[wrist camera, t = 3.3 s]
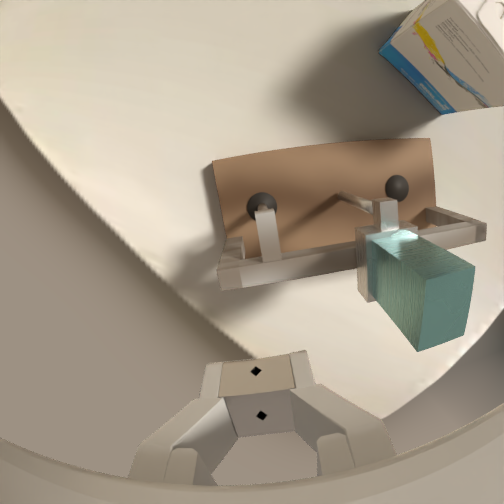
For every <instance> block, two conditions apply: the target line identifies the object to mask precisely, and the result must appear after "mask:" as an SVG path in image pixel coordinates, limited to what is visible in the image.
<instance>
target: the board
mask: <svg viewBox="0 0 504 504" xmlns="http://www.w3.org/2000/svg"><path fill="white" fill-rule="evenodd" d="M212 164H213V169H214V175H215V180H216V185H217V191H218V196H219V201H220V206H221V211H222V217H223V222H224V227H225V232H226V237H227V240H226V243H225V246H224V249H223V252H222V255H221V258H220V262H219V265H218V268H217V275H218V279H219V284H220V288H221V291H225V290H232V289H238V288H245V287H251V286H257V285H264V284H270V283H276V282H282V281H288V280H294V279H300V278H305V277H311V276H317V275H322V274H328V273H333V272H339V271H344V270H350V269H355V268H357V258H356V241H355V227H361V226H368V225H374V222H373V215H372V214H370V213H367V212H365V211H363V210H361V209H359V208H357V207H354V206H352V205H350V204H348V203H345V202H343V201H341V200H339V199H338V193H339V192H341V191H343V192H346V193H349V194H352V195H355V196H358V197H361V198H364V199H367V200H370V201H372V199H380V198H387V197H389V198H392V199H396V200H397V204H398V221H400V220H404V221H407V222H409V223H411V224H414V225H416V226H418V236H420V237H422V238H424V239H426V240H428V241H430V242H432V243H434V244H435V245H437V246H439V247H441V248H443V249H445V250H447V249H451V248H456V247H460V246H464V245H469V244H473V243H477V242H481V241H485V240H486V229H487V223H484V222H481V221H479V220H476V219H473V218H470V217H467V216H464V215H461V214H458V213H455V212H452V211H449V210H446V209H443V208H440V207H436V196H435V180H434V168H433V158H432V149H431V141H430V138H408V139H381V140H364V141H351V142H339V143H328V144H319V145H310V146H302V147H294V148H286V149H279V150H272V151H266V152H259V153H253V154H247V155H242V156H236V157H230V158H225V159H220V160H215V161H212ZM436 226H438V227H436Z"/></svg>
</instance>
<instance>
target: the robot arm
mask: <svg viewBox="0 0 504 504" xmlns="http://www.w3.org/2000/svg"><path fill="white" fill-rule="evenodd" d="M291 431H295V432H296V433H297V434H298V435H299V436H300V437H301V438H302V439H303V440H304V441H305V442H306V443H307V444H308V445H309V446H310V447H311V448H312V449H313V450H315V451H316V452H317V476H316V477H311V478H305V479H299V480H292V481H284V482H276V483H265V484H253V485H229V486H227V485H226V486H218V485H217V483H216V482H215V481H214V479H213V477H212V475H211V474H212V473H213V471H214V470H215V469H216V468H217V466H218V465H219V464H220V462H221V461H222V460H223V458H224V457H225V456H226V454H227V453H228V451H229V450H230V449H231V448H232V446H233V445H234V444H235V442H236V441H237V440H238V438H237V437H247V436H256V435H264V434H273V433H282V432H291ZM0 504H504V403H503V404H501V405H500V406H498V407H497V408H495V409H493V410H492V411H490V412H488V413H487V414H485V415H483V416H482V417H480V418H478V419H476V420H475V421H473V422H471V423H469V424H467V425H465V426H463V427H461V428H460V429H457V430H455V431H454V432H451V433H449V434H447V435H445V436H443V437H441V438H438V439H436V440H434V441H432V442H429V443H427V444H425V445H423V446H420V447H417V448H415V449H412V450H410V451H407V452H404V453H401V454H399V455H397V453H396V451H395V449H394V446H393V444H392V442H391V439H390V437H389V435H388V432H387V430H386V428H385V425H384V423H383V421H382V420H381V419H379V418H378V417H376V416H374V415H372V414H371V413H369V412H367V411H365V410H364V409H362V408H360V407H358V406H357V405H355V404H353V403H352V402H350V401H348V400H347V399H345V398H343V397H342V396H340V395H338V394H337V393H335V392H333V391H332V390H330V389H329V388H327V387H325V386H324V385H322V384H317V385H316V383H315V379H314V375H313V372H312V368H311V364H310V361H309V357H308V354H307V351H306V350H302V351H298V352H293V353H289V354H285V355H279V356H272V357H265V358H258V359H248V360H238V361H227V362H216V363H208V364H207V365H206V367H205V372H204V376H203V381H202V385H201V390H200V394H199V399H193V400H192V401H191V402H190V403H189V404H188V405H186V406H185V407H184V408H183V409H182V410H181V411H180V412H178V413H177V414H176V415H175V416H174V417H172V418H171V419H170V420H169V421H168V422H166V423H165V424H164V425H163V426H162V427H160V428H159V429H158V430H157V431H155V432H154V433H153V434H152V435H150V436H149V437H148V438H147V439H145V440H144V441H143V442H142V443H140V444H139V447H138V449H137V452H136V455H135V458H134V461H133V463H132V466H131V469H130V473H129V475H128V478H125V477H120V476H114V475H109V474H105V473H100V472H96V471H92V470H88V469H84V468H80V467H77V466H73V465H70V464H67V463H63V462H60V461H57V460H54V459H51V458H48V457H45V456H43V455H40V454H37V453H35V452H32V451H29V450H27V449H25V448H22V447H20V446H17V445H15V444H13V443H11V442H8V441H6V440H4V439H2V438H0Z"/></svg>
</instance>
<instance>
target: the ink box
mask: <svg viewBox="0 0 504 504" xmlns="http://www.w3.org/2000/svg"><path fill="white" fill-rule="evenodd" d="M379 54H380V55H382V56H383V57H385V58H386V59H387V60H388V61H389V62H390V63H391V64H392V65H393V66H394V67H395V68H396V69H397V70H399V71H400V72H401V73H402V74H403V75H404V76H405V77H406V78H407V79H408V80H409V81H410V82H411V83H412V84H413V85H414V86H415V87H416V88H417V89H418V90H419V91H420V92H421V93H422V94H423V96H424V97H425V98H426V99H427V100H428V101H429V102H430V103H431V104H432V105H433V106H434V107H435V108H436V109H437V110H438V111H439V112H440V113H441V114H442V115H444V114H449V113H455V112H462V111H468V110H475V109H482V108H490V107H499V106H504V0H425V1H424V2H422V3H421V4H420V5H418V6H417V7H416V8H415V9H414V10H413V11H412V12H411V13H410V14H409V15H408V16H407V17H406V19H405V20H404V21H403V22H402V23H401V25H400V26H399V27H398V28H397V30H396V31H395V32H394V33H393V34H392V36H391V37H390V38H389V40H388V41H387V42H386V43H385V44H384V45H383V46H382V47H381V48H380V49H379Z"/></svg>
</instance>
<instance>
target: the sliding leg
mask: <svg viewBox="0 0 504 504" xmlns="http://www.w3.org/2000/svg"><path fill="white" fill-rule="evenodd" d="M338 199H339V200H341V201H343V202H345V203H348V204H350V205H352V206H354V207H357V208H359V209H361V210H363V211H365V212H367V213H370V214H372V215H373V222H374V225H368V226H361V227H355V241H356V258H357V282H358V291H359V292H360V294H361V295H362V296H363V297H364V299H365V300H366V301H367V303H368V302H373V301H377V302H378V303H379V304H380V306H381V307H382V308H383V309H384V311H385V312H386V313H387V314H388V315H389V317H390V318H391V319H392V320H393V322H394V323H395V324H396V325H397V327H398V328H399V329H400V330H401V332H402V333H403V334H404V336H405V337H406V338H407V339H408V341H409V342H410V343H411V345H412V346H413V347H414V348H415V350H416V351H417V352H419V351H422V350H425V349H428V348H431V347H434V346H437V345H439V344H442V343H445V342H448V341H450V340H453V339H455V338H458V337H460V336H463V335H464V332H465V328H466V323H467V318H468V313H469V307H470V302H471V296H472V289H473V282H474V274H475V266H473V265H472V264H470V263H468V262H466V261H465V260H463V259H461V258H459V257H458V256H456V255H454V254H452V253H450V252H448V251H447V250H445V249H443V248H441V247H439V246H437V245H435V244H434V243H432V242H430V241H428V240H426V239H424V238H422V237H420V236H418V226H416V225H414V224H411V223H409V222H407V221H404V220H400V221H398V204H397V200H396V199H392V198H389V197H387V198H380V199H372V201H370V200H367V199H364V198H361V197H358V196H355V195H352V194H349V193H346V192H343V191H341V192H339V193H338Z"/></svg>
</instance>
